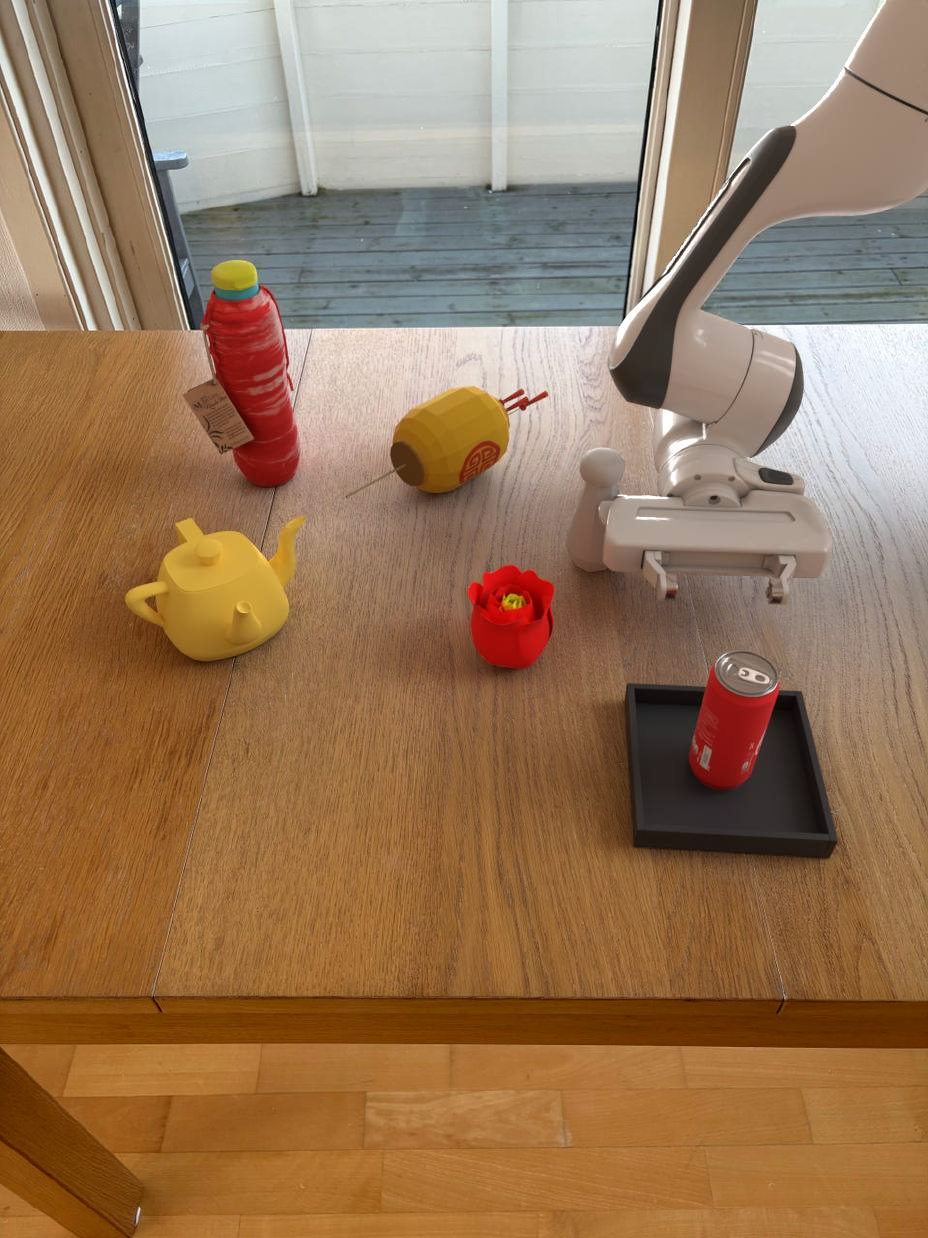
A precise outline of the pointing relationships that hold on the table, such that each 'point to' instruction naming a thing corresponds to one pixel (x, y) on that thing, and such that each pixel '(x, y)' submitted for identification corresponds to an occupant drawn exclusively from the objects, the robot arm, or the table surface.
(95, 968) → the table surface
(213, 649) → the teapot
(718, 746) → the beverage can
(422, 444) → the lantern
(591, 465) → the salt shaker
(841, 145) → the robot arm
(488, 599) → the flower
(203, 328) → the water bottle
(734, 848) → the tray
